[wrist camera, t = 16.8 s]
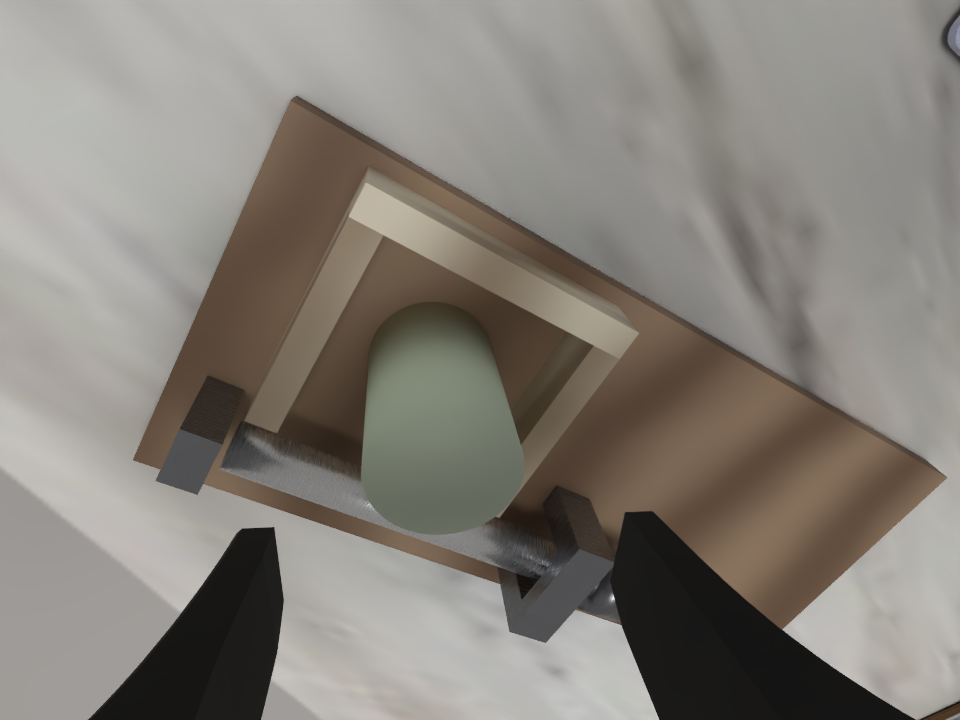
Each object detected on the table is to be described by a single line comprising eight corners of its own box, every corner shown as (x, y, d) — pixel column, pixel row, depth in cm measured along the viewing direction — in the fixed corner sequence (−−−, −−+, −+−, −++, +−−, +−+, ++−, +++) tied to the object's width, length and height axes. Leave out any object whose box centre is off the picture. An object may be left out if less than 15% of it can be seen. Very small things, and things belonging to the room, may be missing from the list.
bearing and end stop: (589, 499, 24) (616, 563, 21) (528, 573, 26) (545, 642, 23) (221, 345, 19) (191, 401, 16) (173, 448, 21) (138, 517, 18)
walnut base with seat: (925, 460, 27) (986, 510, 24) (730, 644, 32) (763, 704, 29) (296, 95, 17) (278, 109, 15) (145, 439, 22) (109, 499, 19)
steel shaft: (629, 540, 25) (652, 591, 23) (592, 582, 26) (611, 635, 24) (254, 390, 20) (237, 438, 18) (224, 450, 21) (204, 502, 19)
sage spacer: (476, 287, 19) (506, 385, 14) (502, 392, 21) (537, 512, 16) (352, 320, 19) (338, 429, 14) (389, 421, 21) (389, 550, 16)
